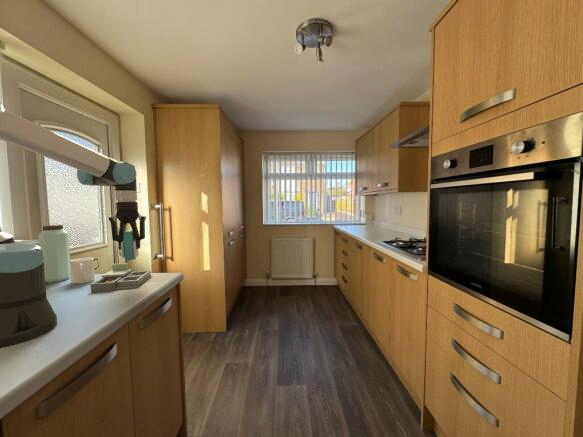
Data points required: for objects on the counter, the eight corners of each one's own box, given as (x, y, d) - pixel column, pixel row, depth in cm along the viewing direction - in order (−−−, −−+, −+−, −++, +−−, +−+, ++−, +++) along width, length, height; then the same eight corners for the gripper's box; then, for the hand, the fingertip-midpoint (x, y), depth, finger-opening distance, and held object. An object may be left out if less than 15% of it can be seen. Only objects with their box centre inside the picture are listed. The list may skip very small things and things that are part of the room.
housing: (136, 288, 102) (135, 281, 101) (91, 291, 98) (90, 284, 98) (151, 275, 119) (150, 269, 119) (113, 278, 116) (112, 272, 116)
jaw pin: (133, 260, 105) (132, 231, 104) (123, 260, 104) (121, 231, 103) (137, 257, 108) (135, 230, 108) (127, 258, 108) (125, 230, 107)
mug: (69, 287, 104) (67, 263, 104) (72, 280, 114) (71, 259, 113) (94, 283, 109) (92, 261, 108) (95, 277, 119) (93, 256, 118)
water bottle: (77, 276, 121) (73, 224, 119) (59, 282, 111) (55, 226, 109) (55, 276, 120) (51, 224, 118) (35, 283, 110) (30, 226, 108)
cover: (123, 275, 108) (122, 267, 108) (101, 277, 106) (101, 268, 106) (131, 270, 116) (130, 262, 116) (111, 271, 115) (111, 263, 115)
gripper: (152, 201, 110) (155, 253, 111) (108, 201, 106) (111, 256, 108) (146, 200, 103) (149, 257, 104) (98, 201, 99) (102, 260, 100)
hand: (130, 256), depth 106 cm, fingers closed on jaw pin, 4 cm apart
